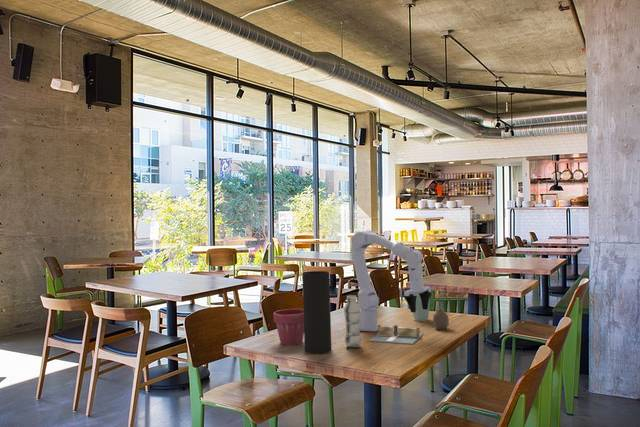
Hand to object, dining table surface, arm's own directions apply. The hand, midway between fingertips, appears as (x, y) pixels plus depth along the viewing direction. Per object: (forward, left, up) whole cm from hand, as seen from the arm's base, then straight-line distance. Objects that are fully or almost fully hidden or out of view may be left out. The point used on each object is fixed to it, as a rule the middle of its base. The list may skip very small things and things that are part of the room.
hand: (419, 310), depth 227 cm
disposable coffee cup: (-7, +31, -10) cm, 33 cm away
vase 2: (+6, +14, -10) cm, 18 cm away
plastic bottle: (-20, -28, -10) cm, 36 cm away
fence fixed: (-12, -6, -10) cm, 17 cm away
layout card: (-8, -8, -10) cm, 15 cm away
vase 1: (-31, -37, -10) cm, 49 cm away
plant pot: (-47, -28, -10) cm, 56 cm away
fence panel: (-3, -6, -9) cm, 12 cm away
